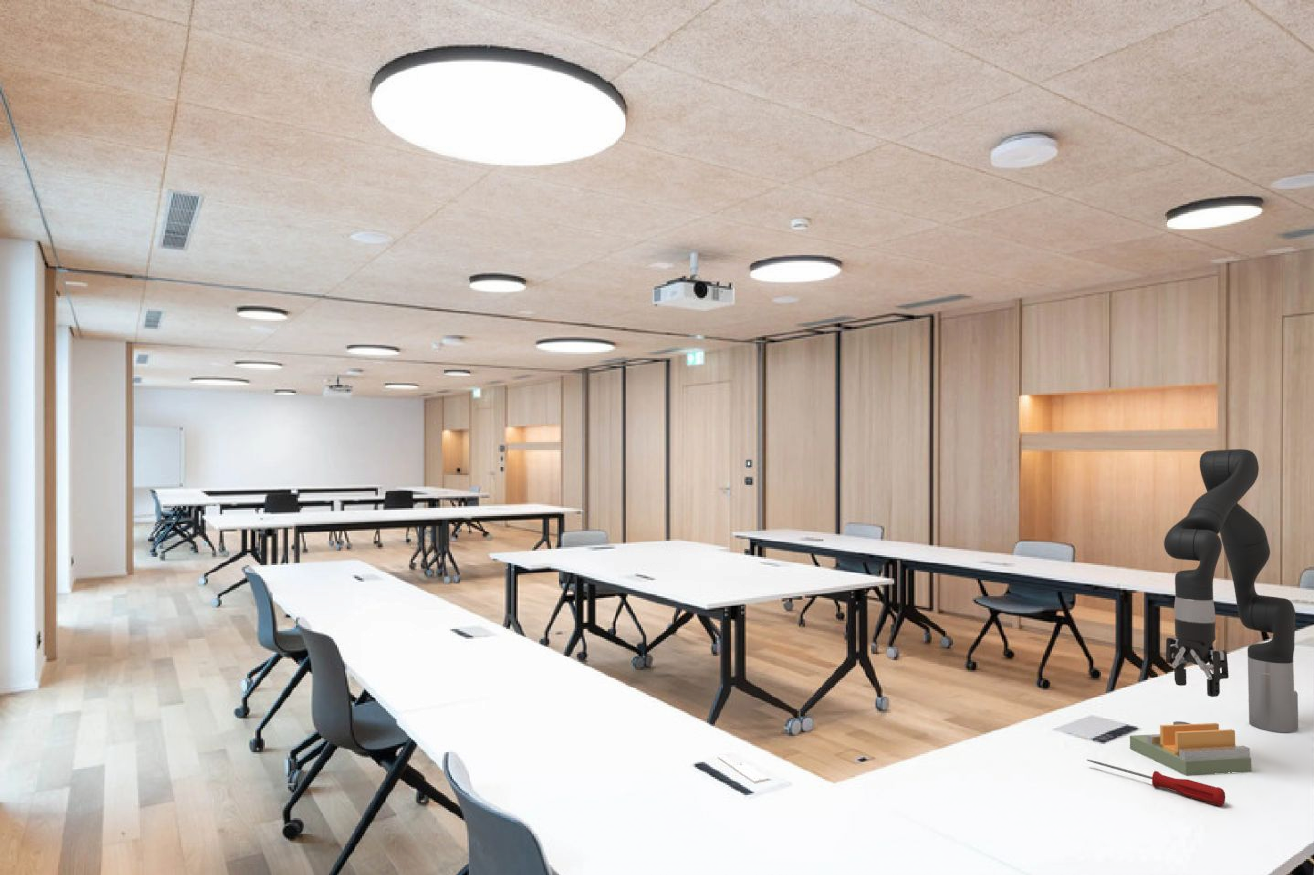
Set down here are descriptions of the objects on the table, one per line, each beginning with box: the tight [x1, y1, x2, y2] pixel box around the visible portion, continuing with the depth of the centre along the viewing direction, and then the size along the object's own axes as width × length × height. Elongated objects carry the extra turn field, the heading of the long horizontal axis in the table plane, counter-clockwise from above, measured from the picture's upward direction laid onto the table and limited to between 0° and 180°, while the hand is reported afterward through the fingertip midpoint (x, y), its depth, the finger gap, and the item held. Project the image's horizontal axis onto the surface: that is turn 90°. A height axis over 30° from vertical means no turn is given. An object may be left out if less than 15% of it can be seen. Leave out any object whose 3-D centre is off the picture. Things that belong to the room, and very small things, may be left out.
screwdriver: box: [1086, 759, 1226, 807], centre depth 159 cm, size 4×25×4 cm, turn 40°
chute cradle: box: [1146, 733, 1251, 761], centre depth 171 cm, size 16×10×2 cm, turn 98°
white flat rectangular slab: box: [717, 754, 773, 784], centre depth 167 cm, size 5×15×1 cm, turn 25°
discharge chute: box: [1159, 722, 1236, 756], centre depth 171 cm, size 14×5×5 cm, turn 97°
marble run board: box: [1129, 720, 1252, 777], centre depth 174 cm, size 16×16×6 cm
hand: (1196, 690), depth 172 cm, fingers open, 8 cm apart
